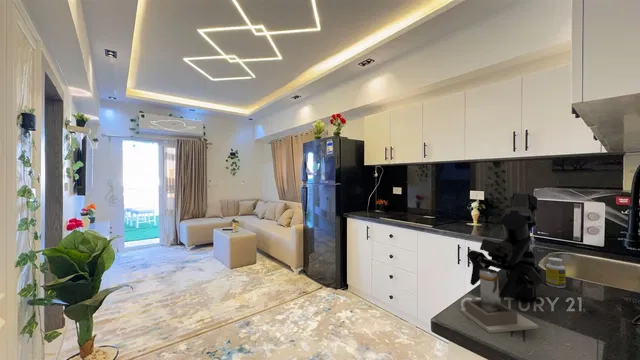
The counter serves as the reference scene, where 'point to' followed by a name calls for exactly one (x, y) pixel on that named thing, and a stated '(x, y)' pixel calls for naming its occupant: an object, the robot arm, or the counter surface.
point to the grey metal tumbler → (489, 290)
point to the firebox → (496, 318)
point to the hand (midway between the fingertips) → (485, 290)
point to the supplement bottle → (555, 273)
